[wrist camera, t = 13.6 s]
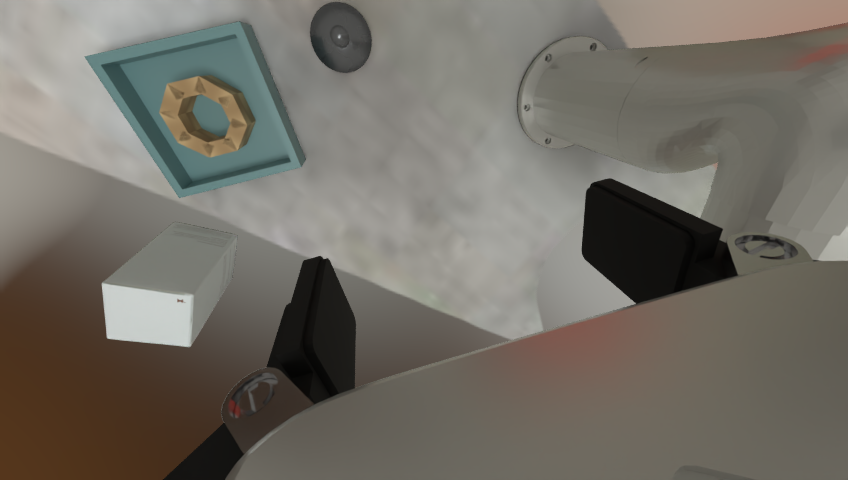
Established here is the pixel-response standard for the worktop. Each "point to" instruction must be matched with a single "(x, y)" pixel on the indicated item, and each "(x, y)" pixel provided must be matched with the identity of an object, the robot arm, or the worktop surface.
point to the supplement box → (169, 286)
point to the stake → (340, 37)
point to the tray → (202, 105)
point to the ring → (187, 127)
